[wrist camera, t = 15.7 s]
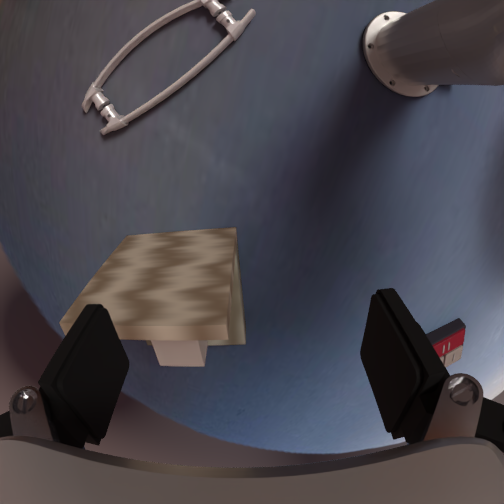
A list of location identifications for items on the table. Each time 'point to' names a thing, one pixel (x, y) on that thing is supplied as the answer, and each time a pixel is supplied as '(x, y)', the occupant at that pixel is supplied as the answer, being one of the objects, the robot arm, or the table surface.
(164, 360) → the pale taupe block
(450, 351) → the small patterned box
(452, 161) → the table surface
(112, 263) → the beige zigzag bookend
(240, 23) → the door handle
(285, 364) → the table surface
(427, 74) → the robot arm
